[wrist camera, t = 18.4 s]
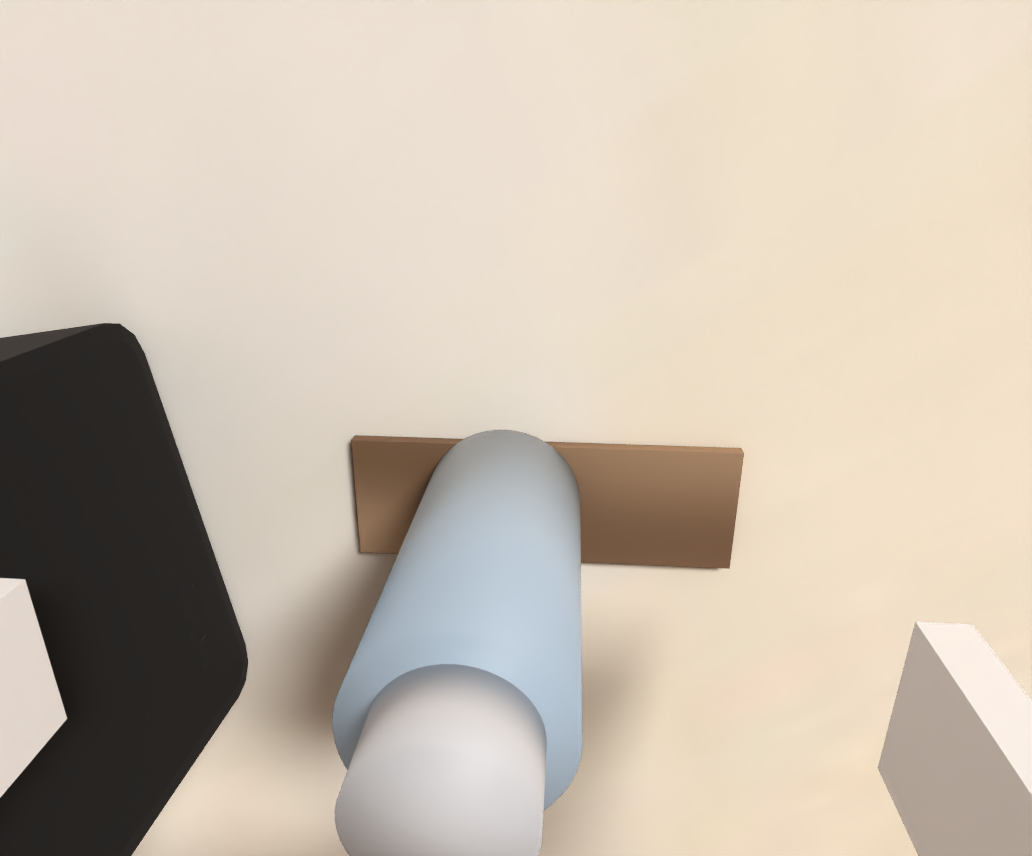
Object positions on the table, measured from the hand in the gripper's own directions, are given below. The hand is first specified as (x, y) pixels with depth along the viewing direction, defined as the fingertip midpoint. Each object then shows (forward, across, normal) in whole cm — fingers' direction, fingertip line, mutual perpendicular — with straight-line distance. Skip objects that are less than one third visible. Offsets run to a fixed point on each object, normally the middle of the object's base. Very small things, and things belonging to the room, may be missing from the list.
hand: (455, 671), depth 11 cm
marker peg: (+7, 0, -1) cm, 7 cm away
